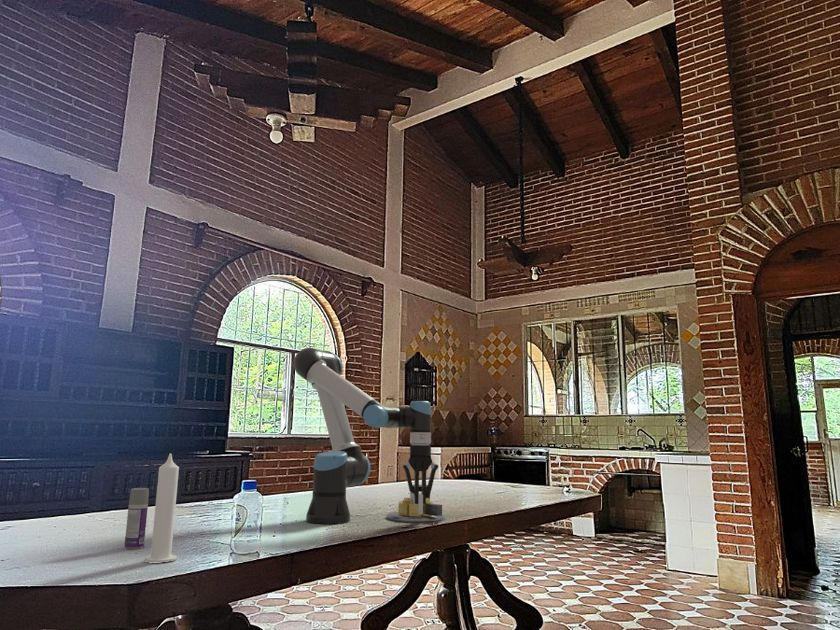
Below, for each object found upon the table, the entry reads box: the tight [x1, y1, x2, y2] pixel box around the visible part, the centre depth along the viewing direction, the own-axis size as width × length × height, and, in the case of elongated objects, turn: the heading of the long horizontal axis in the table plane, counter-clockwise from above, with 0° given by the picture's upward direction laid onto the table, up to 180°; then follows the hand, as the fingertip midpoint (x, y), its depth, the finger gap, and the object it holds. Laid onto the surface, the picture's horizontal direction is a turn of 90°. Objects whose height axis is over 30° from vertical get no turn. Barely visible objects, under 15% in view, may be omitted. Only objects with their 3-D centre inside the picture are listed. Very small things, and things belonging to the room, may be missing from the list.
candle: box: [143, 453, 180, 562], centre depth 144 cm, size 7×7×25 cm
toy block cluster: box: [397, 497, 443, 517], centre depth 213 cm, size 19×12×5 cm, turn 42°
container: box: [123, 487, 150, 550], centre depth 157 cm, size 5×5×15 cm
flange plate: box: [386, 491, 446, 524], centre depth 216 cm, size 21×21×9 cm
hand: (420, 513), depth 206 cm, fingers closed
